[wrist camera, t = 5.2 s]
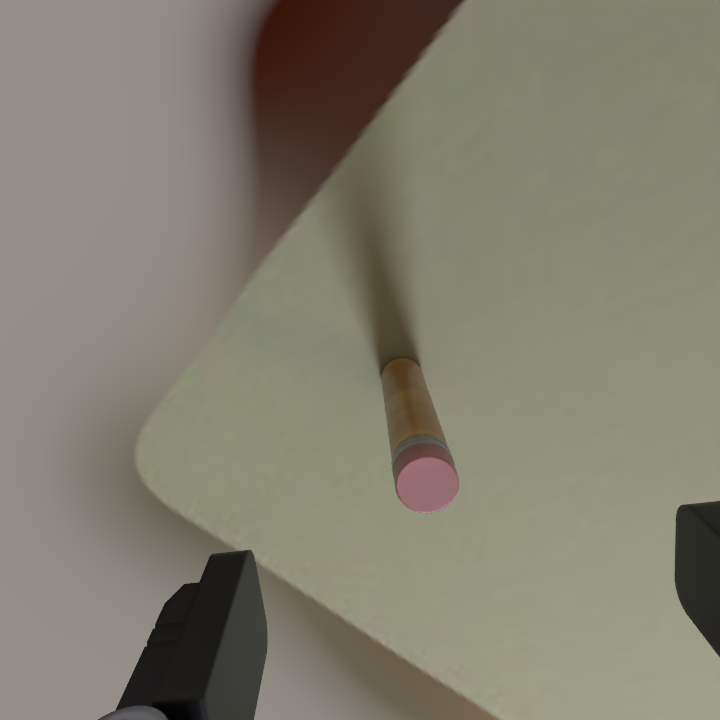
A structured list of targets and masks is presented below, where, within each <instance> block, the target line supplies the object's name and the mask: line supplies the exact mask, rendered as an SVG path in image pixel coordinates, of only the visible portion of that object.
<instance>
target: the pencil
mask: <svg viewBox="0 0 720 720" xmlns="http://www.w3.org/2000/svg"><path fill="white" fill-rule="evenodd" d="M381 379H382V387H383V395H384V403H385V410H386V418H387V426H388V434H389V442H390V450H391V457H392V471H393V477H394V481H395V489H396V493H397V495H398V497H399V499H400V501H401V502H402V503H403V504H404V505H405V506H406V507H408V508H409V509H411V510H413V511H416V512H420V513H432V512H436V511H439V510H441V509H443V508H445V507H447V506H448V505H449V504H450V503H451V502H452V501H453V499H454V498H455V496H456V494H457V492H458V488H459V478H458V474H457V472H456V469H455V465H454V461H453V458H452V455H451V452H450V450H449V448H448V446H447V443H446V440H445V437H444V434H443V431H442V428H441V425H440V423H439V420H438V417H437V414H436V411H435V408H434V405H433V402H432V400H431V397H430V394H429V391H428V388H427V385H426V382H425V379H424V377H423V374H422V371H421V369H420V367H419V365H418V364H417V363H416V362H414V361H413V360H410V359H407V358H398V359H394V360H392V361H391V362H389V363H388V364H387V365H386V366H385V368H384V369H383V372H382V378H381Z"/></svg>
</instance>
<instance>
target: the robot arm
mask: <svg viewBox="0 0 720 720" xmlns="http://www.w3.org/2000/svg"><path fill="white" fill-rule="evenodd" d="M675 585H676V590H677V594H678V597H679V600H680V602H681V605H682V607H683V609H684V610H685V612H686V614H687V615H688V616H689V618H690V619H691V620H692V622H693V623H694V624H695V625H696V627H697V628H698V629H699V631H700V632H701V633H702V635H703V636H704V637H705V638H706V640H707V641H708V642H709V644H710V645H711V646H712V648H713V649H714V650H715V651H716V653H717V654H718V655H719V657H720V501H715V502H706V503H696V504H687V505H681V506H680V507H679V508H678V510H677V514H676V542H675ZM266 654H267V623H266V616H265V610H264V605H263V600H262V594H261V589H260V584H259V578H258V573H257V568H256V562H255V558H254V555H253V553H252V551H251V550H244V551H235V552H226V553H217V554H212V555H211V556H210V557H209V560H208V563H207V565H206V567H205V570H204V572H203V575H202V578H201V580H200V582H199V583H191V584H184V585H183V586H182V587H181V588H180V589H179V590H178V591H177V592H176V593H175V594H174V595H173V596H172V597H171V598H170V599H169V600H168V601H167V602H166V603H165V605H164V606H163V609H162V611H161V613H160V615H159V617H158V619H157V622H156V624H155V629H153V630H152V632H151V635H150V637H149V639H148V641H147V647H145V648H144V650H143V652H142V655H141V657H140V658H139V661H138V663H137V665H136V667H135V670H134V671H133V674H132V676H131V678H130V680H129V682H128V684H127V687H126V689H125V691H124V693H123V696H122V698H121V700H120V702H119V704H118V706H117V708H116V710H115V711H114V712H111V713H109V714H107V715H105V716H103V717H101V718H100V719H98V720H254V715H255V710H256V705H257V700H258V695H259V690H260V685H261V680H262V674H263V669H264V664H265V659H266Z"/></svg>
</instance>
